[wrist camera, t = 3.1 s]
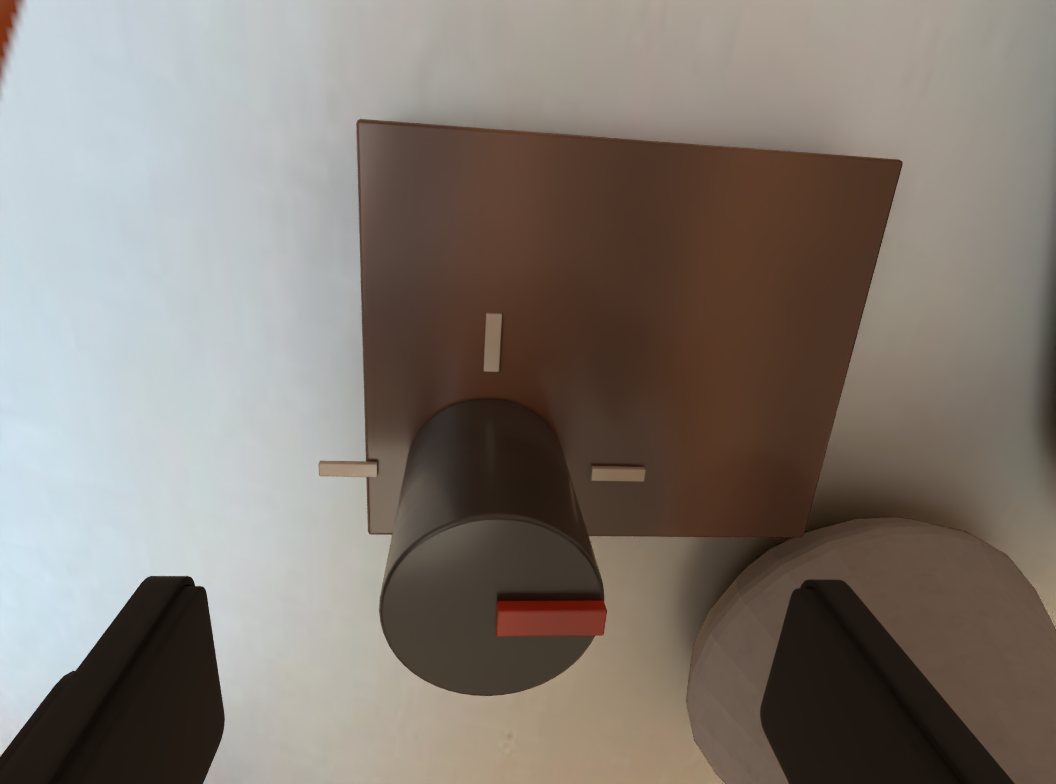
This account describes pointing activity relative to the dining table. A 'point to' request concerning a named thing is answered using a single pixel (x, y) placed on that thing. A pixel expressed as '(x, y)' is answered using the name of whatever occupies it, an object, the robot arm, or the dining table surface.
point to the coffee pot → (913, 622)
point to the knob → (489, 555)
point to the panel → (617, 313)
